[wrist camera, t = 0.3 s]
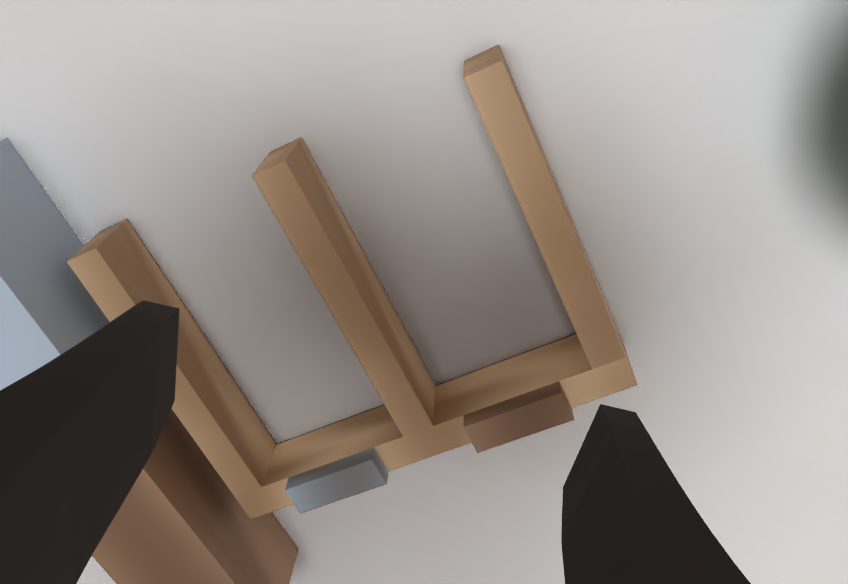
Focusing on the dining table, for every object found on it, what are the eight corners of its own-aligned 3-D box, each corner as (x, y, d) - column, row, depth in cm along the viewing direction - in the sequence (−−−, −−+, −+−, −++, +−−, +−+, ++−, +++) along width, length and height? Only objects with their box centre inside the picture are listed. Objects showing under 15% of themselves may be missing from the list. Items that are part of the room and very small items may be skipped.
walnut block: (220, 573, 30) (187, 663, 27) (93, 414, 27) (36, 492, 24) (299, 545, 30) (275, 634, 26) (177, 378, 27) (131, 453, 23)
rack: (266, 475, 28) (245, 532, 25) (99, 231, 24) (56, 270, 22) (624, 346, 25) (641, 396, 22) (498, 45, 21) (502, 65, 19)
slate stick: (78, 390, 27) (18, 466, 23) (-82, 184, 24) (-178, 235, 20) (163, 354, 26) (115, 426, 23) (10, 135, 23) (-74, 180, 20)
